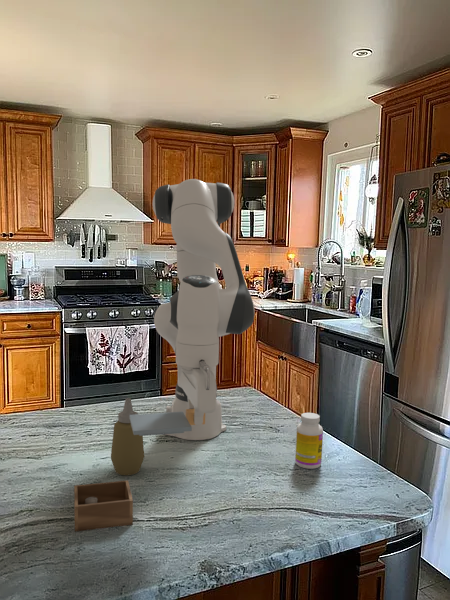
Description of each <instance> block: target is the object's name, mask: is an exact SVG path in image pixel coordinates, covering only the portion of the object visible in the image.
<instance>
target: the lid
mask: <svg viewBox="0 0 450 600" xmlns="http://www.w3.org/2000/svg"><path fill="white" fill-rule="evenodd" d="M193 414H194V409H186V416H185V415H184V413H183V412H168V413H166V412H154V413H153V412H152V413H138V414H134V415H129V419H130V422H131V426H132V430H133V434H134V435H140V436H143V437H146V436H158V435H165V434H175V433H184V431H192V427H191V425H195V424H194V422H193ZM203 424H205V413H204V416H203Z"/></svg>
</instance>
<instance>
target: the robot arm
mask: <svg viewBox="0 0 450 600" xmlns="http://www.w3.org/2000/svg"><path fill="white" fill-rule="evenodd" d="M234 208H235V196H234V193H233V192H232V189H231V187H230V186H229V184H227V183H223V182H219V181H218V182H216V183H213V182H206V181H205V182H204V181H202V180H200V179H197V178H190V179H185V180H184V181H181V182H180V183H178V184H176V183H175V184H171V185H170V184H164V185H161V186H159V187H158V188H157V189H155V190H154V195H153V197H152V210H153V212H154V215H155V217H156V219H157V220H158V221H159V222H160V223H162V224H165V225H170V228H171V235H172V238H173V241H174V242H175V243H176V274H177V275H176V276H177V278H178V280H179V281H180V283H179V288H178V290H177V291H176V292H175V293H174V294H173V295H172V296H171V297H170V298H169V302H165V303H162V304H160V305H159V306H158V308H157V309H156V311H155V314H154V318H153V322H154V323H153V324H154V327H155V330H156V333H158V335H160V336H161V338H163V339H164V340H166V342H168V344H169V345H170V346H171V347H172V350H173V352H174V355H175V363H176V365H177V383H176V385H175V390H174V391H175V394H174V395H175V397H174V398H173V400H172V401H171V405H167V406H166V409H165V410H166V411H165V413H168V412H183V413H184V415H185V416H186V409H194V414H193V422H194V424H195V425H191V427H192V431H184V433H175V434H164V435H166V436H170V437H171V436H172V437H176V438H179V439H183V440H188V441H203V440H209V439H213V438H215V437H217V436H219V435H220V434H221V433H222V432H225V431H227V425H226V424H224V423H223V420H222V415H223V414H222V403H221V402H220V400H218V399H217V397H218V385H217V381H216V380H217V379H216V378H217V377H216V376H217V366H218V365H219V359H220V353H219V352H220V337H224V336H227V335H230V334H231V335H232V334H234V335H242V333H244V332H246V331H247V330H248V329H249V328H250V327H251V326H252V325H253V324H254V321H255V320H254V319H255V312H256V311H255V305H254V302H253V298H252V295H251V293H250V290H249V288H248V287H247V283H246V280H245V277H244V273H243V270H242V267H241V263H240V260H239V256H238V253H237V249H236V247H235V244H234V241H233V239H232V237H231V236H230V234H228V232H225V231H223V229H222V228H221V224H223V223H225V222H228V220H229V219H230V218H231V217H232V213H233V211H234ZM217 266H218V267H220V269H221V273H222V276H223V279H224V284H225V288H221V286H220V283H219V279H218V275H217ZM204 413H205V424H203V416H204Z"/></svg>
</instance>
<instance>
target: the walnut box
mask: <svg viewBox="0 0 450 600" xmlns="http://www.w3.org/2000/svg"><path fill="white" fill-rule="evenodd" d="M73 487H74V488H73V489H74V491H73V493H74V495H73V496H74V497H73V499H74V501H73V502H74V504H73V506H74V508H73V509H74V511H73V512H74V515H73V516H74V518H73V519H74V532H75V533H77V532H83V531H84V532H85V531H92V530H101V529H107V528H108V529H110V528H117V527H124V526H125V527H126V526H132V525H134V524H133V522H134V500H133V495H132V490H131V487H130V483H129V479H128V480H118V481H117V480H115V481H107V482H97V483H95V482H94V483H86V484H76V485H74V486H73Z"/></svg>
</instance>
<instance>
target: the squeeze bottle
mask: <svg viewBox="0 0 450 600" xmlns="http://www.w3.org/2000/svg"><path fill="white" fill-rule="evenodd" d="M134 414H139V413H138V412H137V411H135V410H134V408H133V403H132V398H130V397H126V398H125V400H124V405H123V408H122V410H121V411H120V412H118V415H117V416H118V417H117V421H116V422H115V423H114V424H113V432H112V443H111V451H110V460H111V463H112V466H113V469H114V472H115V473H116V474H117V475H120V476H132V475H136V474H137V473H139V472H140V470H141V467H142V466H143V463H144V459H145V448H144V447H145V446H144V436H140V435H134V434H133V430H132V426H131V422H130V419H129V415H134Z"/></svg>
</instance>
